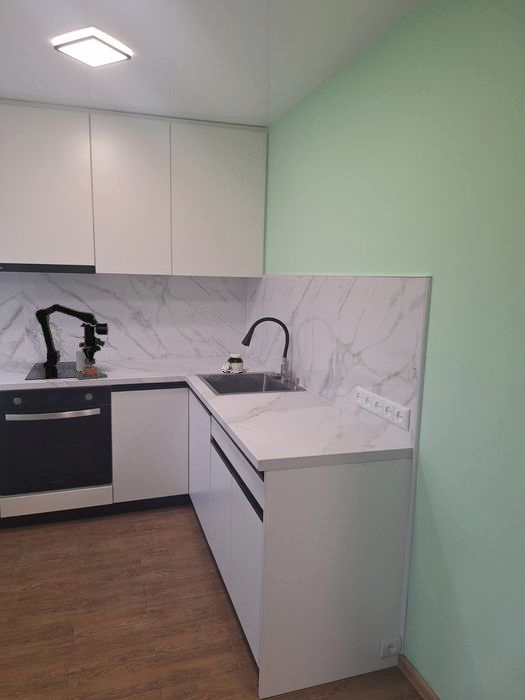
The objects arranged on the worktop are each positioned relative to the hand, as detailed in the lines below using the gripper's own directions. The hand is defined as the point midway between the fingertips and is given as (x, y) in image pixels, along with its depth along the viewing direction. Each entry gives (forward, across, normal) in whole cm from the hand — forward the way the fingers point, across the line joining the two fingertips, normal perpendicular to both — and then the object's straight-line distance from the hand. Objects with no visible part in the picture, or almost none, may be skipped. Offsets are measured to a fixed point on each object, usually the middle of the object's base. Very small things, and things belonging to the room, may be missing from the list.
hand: (89, 361), depth 280 cm
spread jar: (+10, -31, -80) cm, 86 cm away
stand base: (+9, 0, 0) cm, 9 cm away
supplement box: (+10, +20, -4) cm, 23 cm away
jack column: (+6, 0, 0) cm, 6 cm away
